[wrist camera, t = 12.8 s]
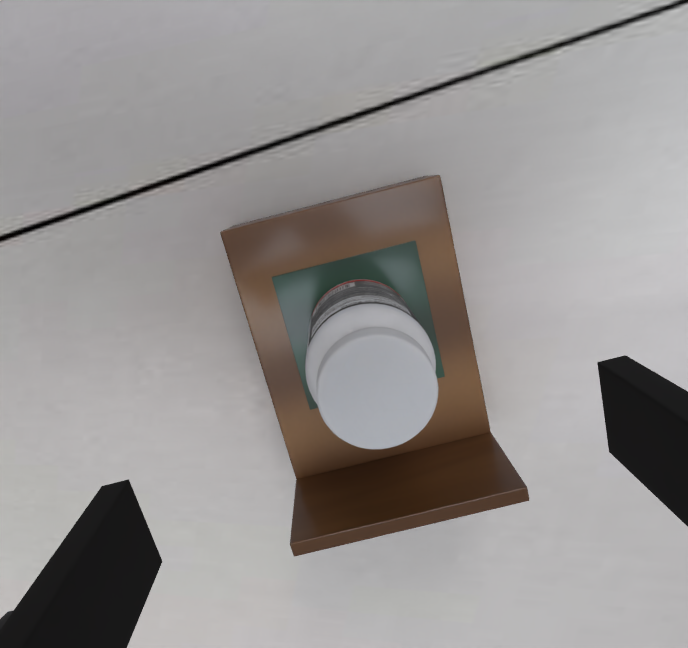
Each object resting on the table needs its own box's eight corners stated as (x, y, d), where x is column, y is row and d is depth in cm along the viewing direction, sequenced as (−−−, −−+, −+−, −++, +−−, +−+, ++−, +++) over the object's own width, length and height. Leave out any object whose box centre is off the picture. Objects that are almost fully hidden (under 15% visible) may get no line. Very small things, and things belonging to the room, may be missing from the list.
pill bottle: (403, 381, 31) (437, 471, 21) (304, 370, 30) (293, 457, 21) (419, 283, 29) (464, 332, 20) (315, 270, 29) (310, 314, 19)
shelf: (232, 226, 32) (192, 244, 23) (426, 175, 32) (470, 172, 22) (302, 457, 36) (293, 557, 27) (475, 415, 36) (529, 500, 26)
